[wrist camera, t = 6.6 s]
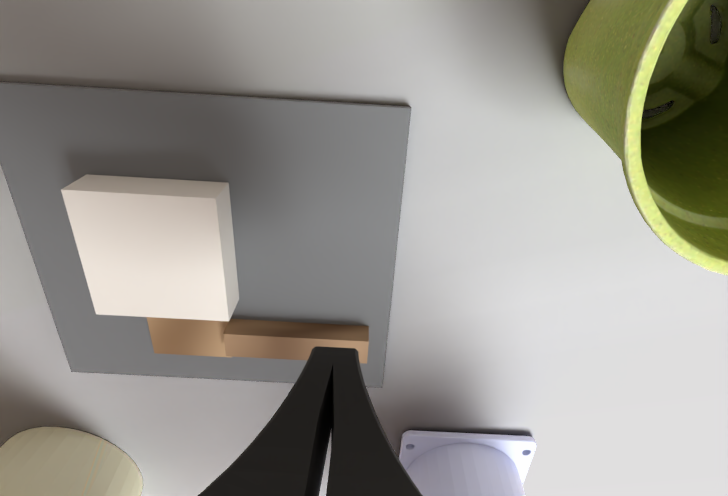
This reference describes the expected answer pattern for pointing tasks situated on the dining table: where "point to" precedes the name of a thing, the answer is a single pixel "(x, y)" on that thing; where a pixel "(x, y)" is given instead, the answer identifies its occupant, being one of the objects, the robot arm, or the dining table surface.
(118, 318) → the mat
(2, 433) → the dining table surface
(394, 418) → the dining table surface
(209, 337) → the wooden plank
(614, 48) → the plant pot
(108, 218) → the tile
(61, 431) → the reusable coffee cup
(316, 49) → the dining table surface
